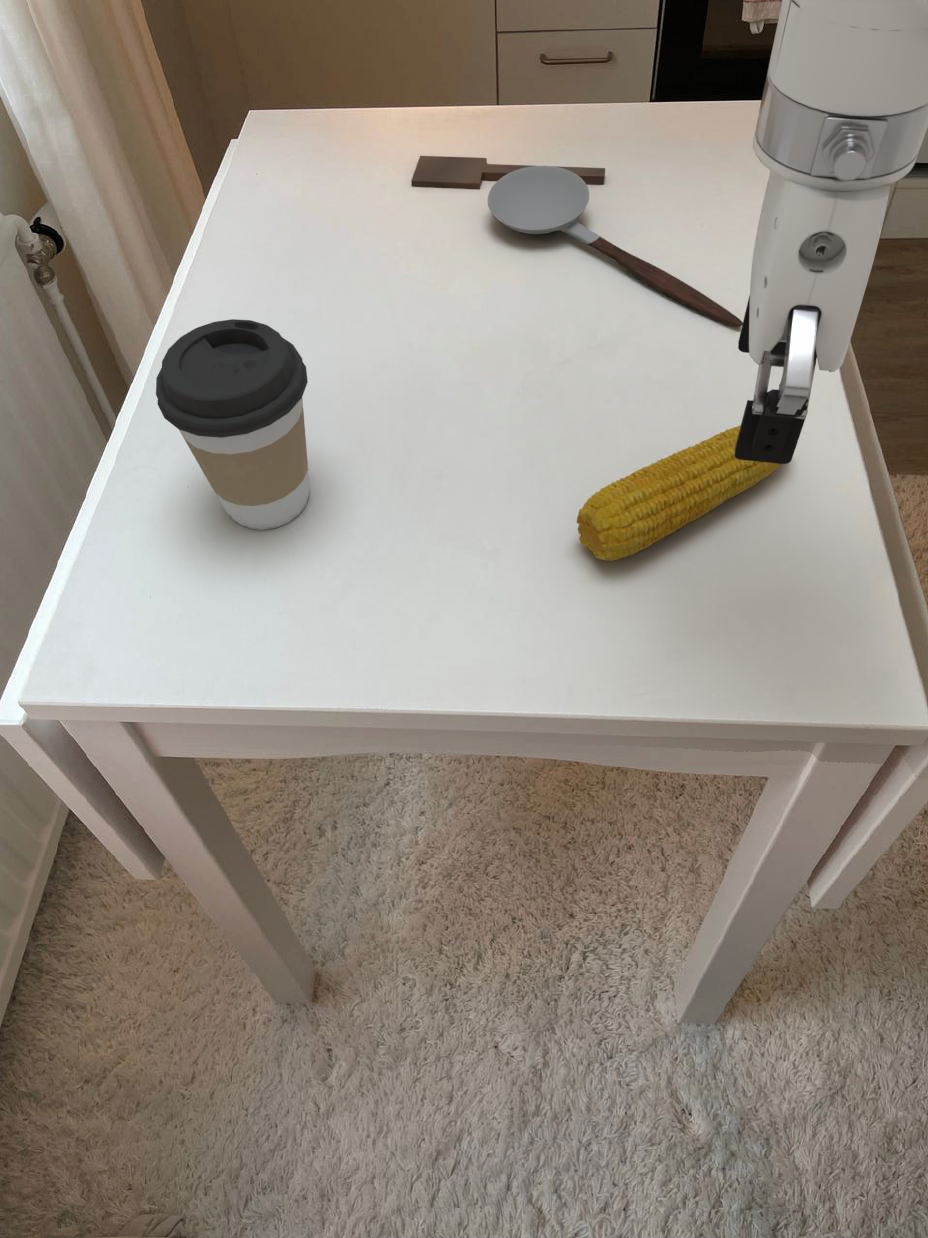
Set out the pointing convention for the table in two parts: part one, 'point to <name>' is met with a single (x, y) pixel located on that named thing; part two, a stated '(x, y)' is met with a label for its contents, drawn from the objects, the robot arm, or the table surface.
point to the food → (666, 496)
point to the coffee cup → (241, 417)
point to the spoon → (581, 227)
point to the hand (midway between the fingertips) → (762, 402)
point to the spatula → (478, 172)
